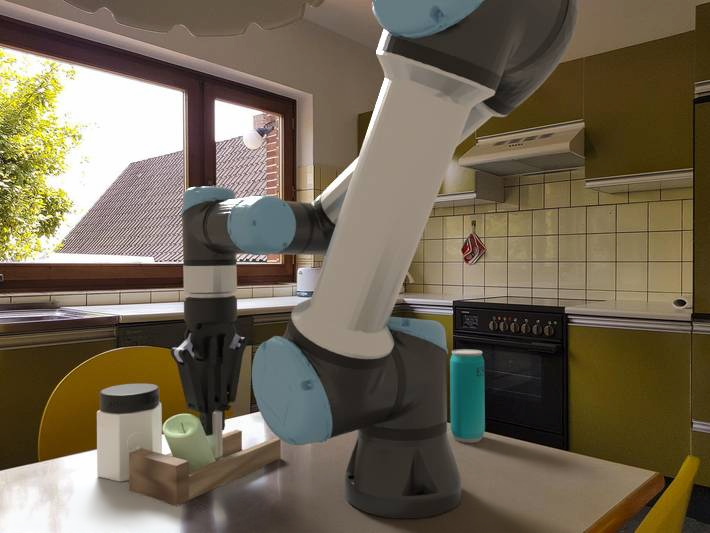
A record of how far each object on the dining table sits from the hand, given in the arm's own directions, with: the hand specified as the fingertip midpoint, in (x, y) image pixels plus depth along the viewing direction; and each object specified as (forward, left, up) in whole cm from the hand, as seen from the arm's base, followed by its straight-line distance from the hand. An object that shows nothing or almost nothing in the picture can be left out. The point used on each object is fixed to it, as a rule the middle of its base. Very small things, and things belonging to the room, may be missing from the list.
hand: (212, 454), depth 81 cm
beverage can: (-27, -33, -2) cm, 42 cm away
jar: (+10, +7, -2) cm, 12 cm away
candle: (0, +3, -1) cm, 3 cm away
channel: (-1, 0, -2) cm, 2 cm away
